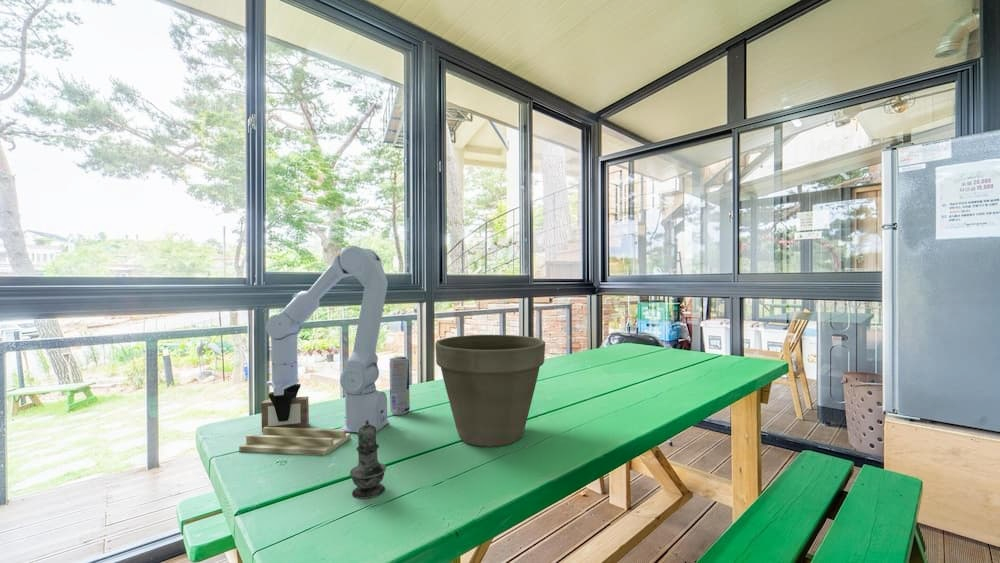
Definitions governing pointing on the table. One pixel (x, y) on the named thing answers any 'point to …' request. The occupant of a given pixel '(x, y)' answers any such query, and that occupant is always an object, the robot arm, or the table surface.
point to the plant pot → (490, 384)
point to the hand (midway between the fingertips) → (285, 417)
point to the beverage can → (399, 385)
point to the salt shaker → (367, 465)
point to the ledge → (295, 441)
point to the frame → (296, 417)
